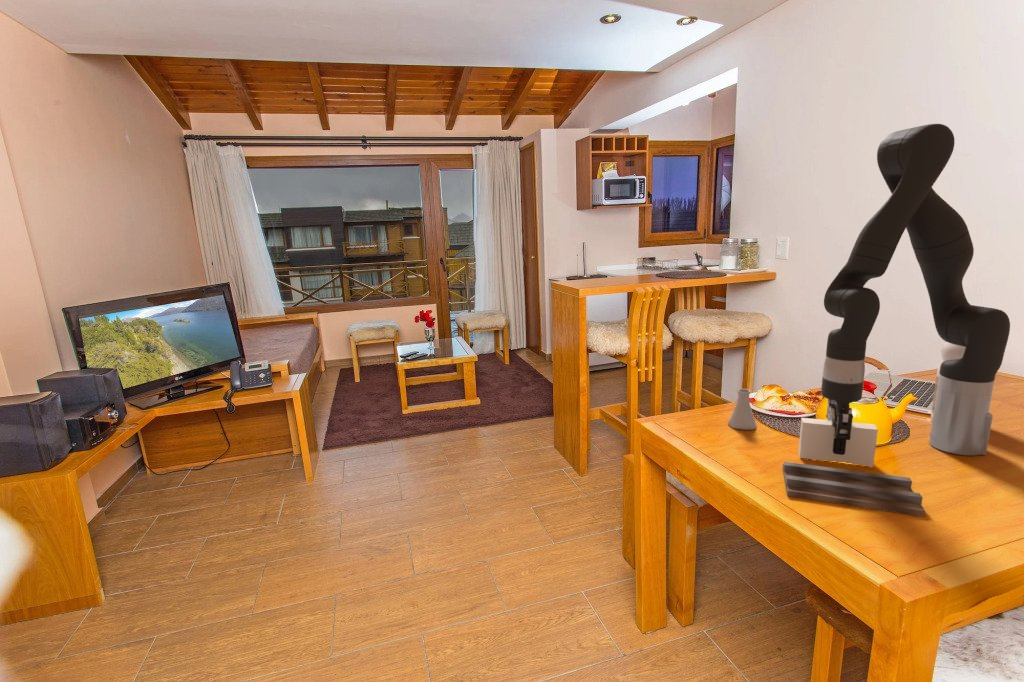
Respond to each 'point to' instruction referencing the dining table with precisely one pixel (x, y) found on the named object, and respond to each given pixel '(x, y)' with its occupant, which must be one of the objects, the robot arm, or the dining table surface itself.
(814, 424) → the panel
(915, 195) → the robot arm
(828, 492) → the track
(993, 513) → the dining table surface
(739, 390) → the flask
